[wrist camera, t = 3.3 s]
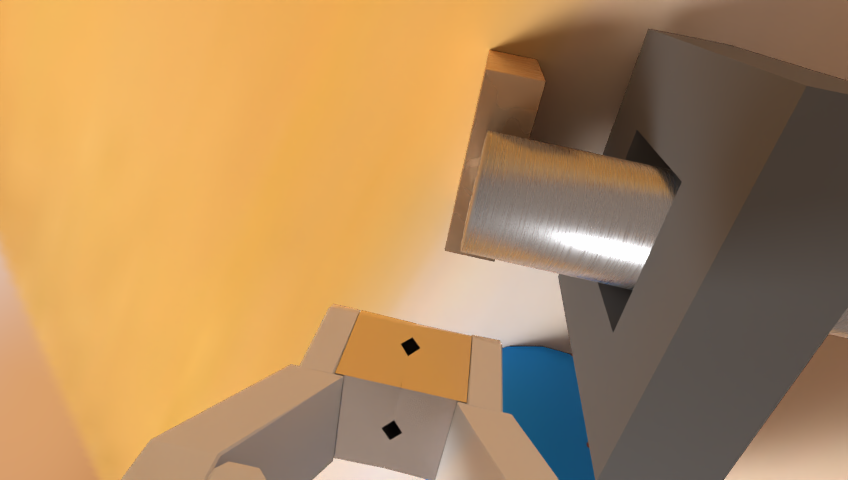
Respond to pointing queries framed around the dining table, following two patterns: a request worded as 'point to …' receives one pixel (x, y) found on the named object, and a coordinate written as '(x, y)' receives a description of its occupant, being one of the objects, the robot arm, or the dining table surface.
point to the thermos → (548, 407)
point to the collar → (715, 260)
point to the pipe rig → (554, 192)
